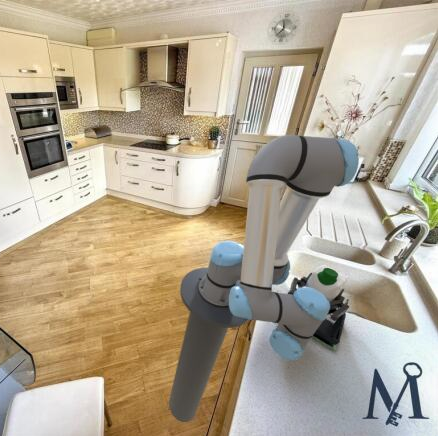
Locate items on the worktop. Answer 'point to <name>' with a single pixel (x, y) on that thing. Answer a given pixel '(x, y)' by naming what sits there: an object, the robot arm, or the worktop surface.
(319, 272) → the soya milk
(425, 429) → the worktop surface
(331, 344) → the black tray
